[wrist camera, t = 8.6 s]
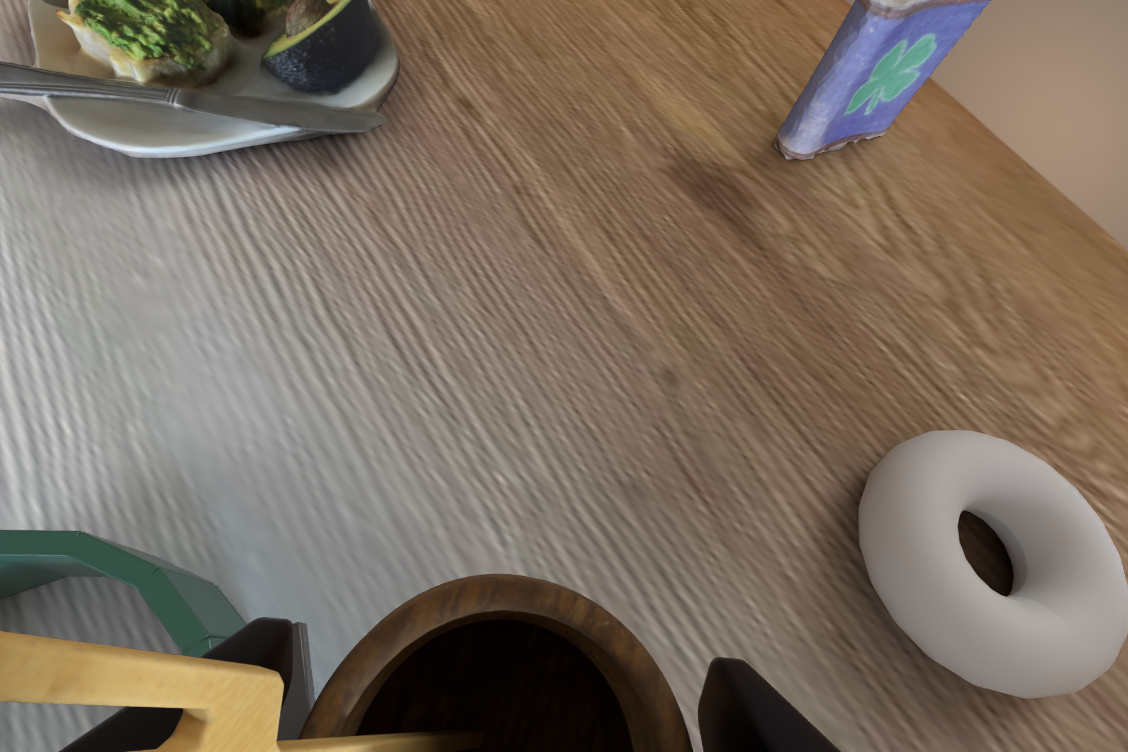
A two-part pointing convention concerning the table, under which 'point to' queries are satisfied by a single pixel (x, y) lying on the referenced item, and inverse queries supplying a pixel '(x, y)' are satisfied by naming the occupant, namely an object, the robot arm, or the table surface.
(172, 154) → the salad plate
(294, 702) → the pot
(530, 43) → the table surface
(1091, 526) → the donut
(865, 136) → the flask
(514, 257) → the table surface
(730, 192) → the table surface
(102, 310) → the table surface
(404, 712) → the utensil holder
